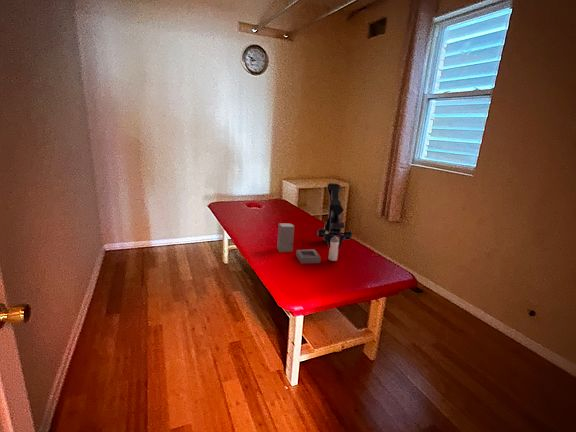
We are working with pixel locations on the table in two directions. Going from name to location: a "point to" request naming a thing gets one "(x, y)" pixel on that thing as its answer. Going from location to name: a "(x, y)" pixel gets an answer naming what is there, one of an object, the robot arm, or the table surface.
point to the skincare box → (285, 237)
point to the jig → (308, 256)
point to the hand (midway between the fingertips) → (334, 248)
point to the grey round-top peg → (333, 248)
